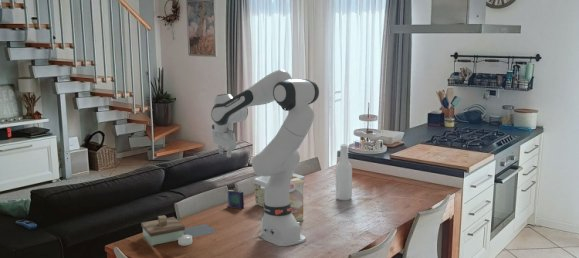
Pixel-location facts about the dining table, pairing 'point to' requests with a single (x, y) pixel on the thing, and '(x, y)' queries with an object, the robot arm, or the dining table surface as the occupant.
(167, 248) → the dining table surface
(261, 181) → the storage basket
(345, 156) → the alcohol
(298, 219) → the coffeecake box
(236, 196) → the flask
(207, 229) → the trivet
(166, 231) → the lid
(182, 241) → the white rounded piece
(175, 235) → the dish
